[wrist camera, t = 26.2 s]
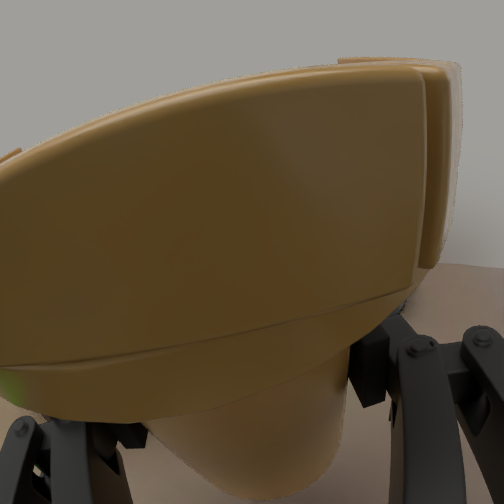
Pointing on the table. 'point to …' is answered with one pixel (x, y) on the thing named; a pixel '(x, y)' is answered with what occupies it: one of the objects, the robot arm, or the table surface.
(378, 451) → the table surface
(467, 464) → the table surface
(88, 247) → the pedestal tray stand
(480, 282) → the table surface
